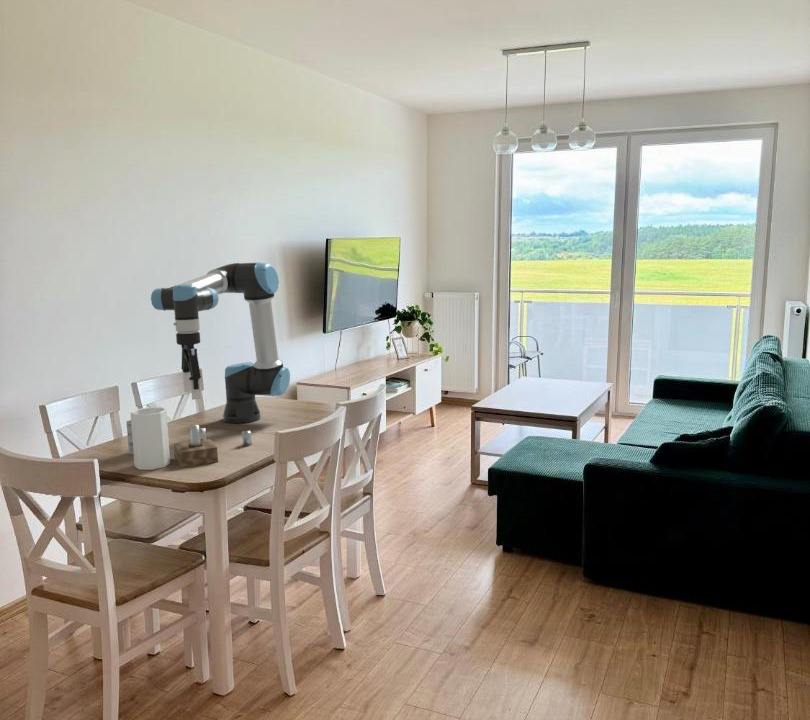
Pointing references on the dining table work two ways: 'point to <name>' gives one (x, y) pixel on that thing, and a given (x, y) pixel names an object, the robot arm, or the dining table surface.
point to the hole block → (195, 453)
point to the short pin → (247, 438)
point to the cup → (150, 438)
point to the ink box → (130, 437)
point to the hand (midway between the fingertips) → (192, 395)
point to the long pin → (194, 435)
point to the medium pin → (202, 433)
